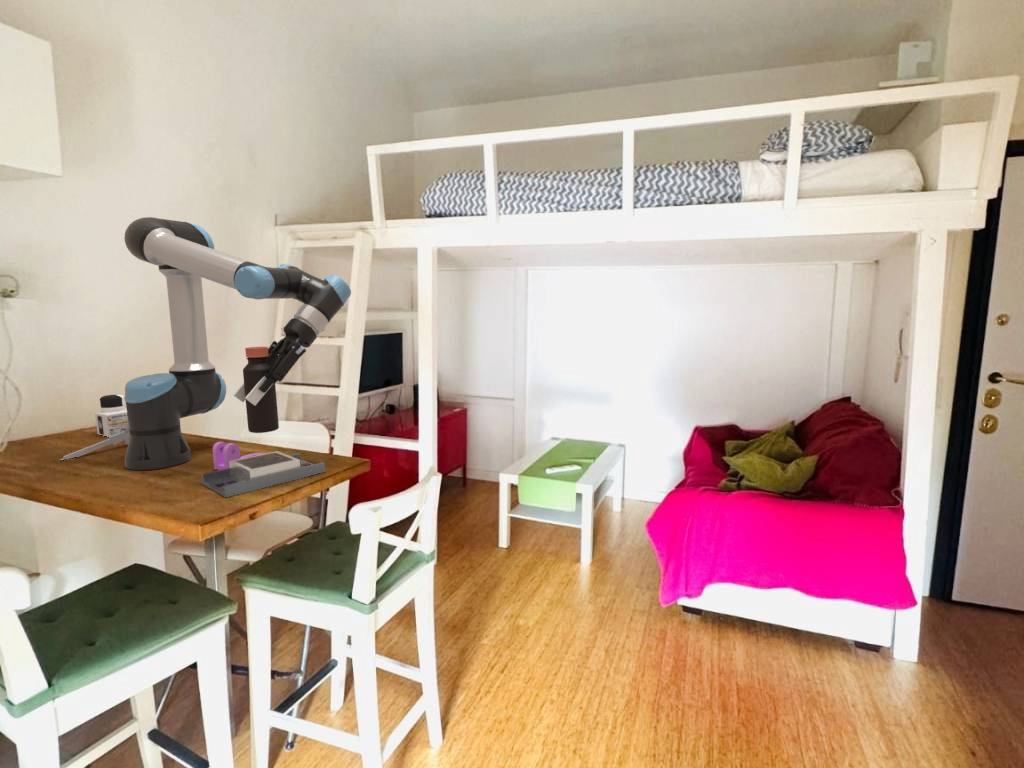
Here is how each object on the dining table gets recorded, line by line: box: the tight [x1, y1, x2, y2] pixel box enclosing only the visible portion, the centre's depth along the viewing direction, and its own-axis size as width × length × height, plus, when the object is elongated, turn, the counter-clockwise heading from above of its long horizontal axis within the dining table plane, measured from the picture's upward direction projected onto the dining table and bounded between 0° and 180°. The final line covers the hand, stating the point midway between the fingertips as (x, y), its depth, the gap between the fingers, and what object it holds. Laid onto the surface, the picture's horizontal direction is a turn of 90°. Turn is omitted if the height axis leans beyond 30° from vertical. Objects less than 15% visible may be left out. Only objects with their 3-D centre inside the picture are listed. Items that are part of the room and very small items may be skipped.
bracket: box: [212, 441, 265, 471], centre depth 149 cm, size 13×6×7 cm, turn 152°
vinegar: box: [242, 346, 280, 434], centre depth 134 cm, size 7×7×20 cm
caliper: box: [59, 426, 130, 461], centre depth 162 cm, size 20×1×6 cm, turn 154°
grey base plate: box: [201, 450, 326, 498], centre depth 137 cm, size 14×24×4 cm, turn 137°
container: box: [94, 394, 129, 438], centre depth 184 cm, size 8×8×13 cm
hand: (244, 400), depth 132 cm, fingers closed on vinegar, 6 cm apart
